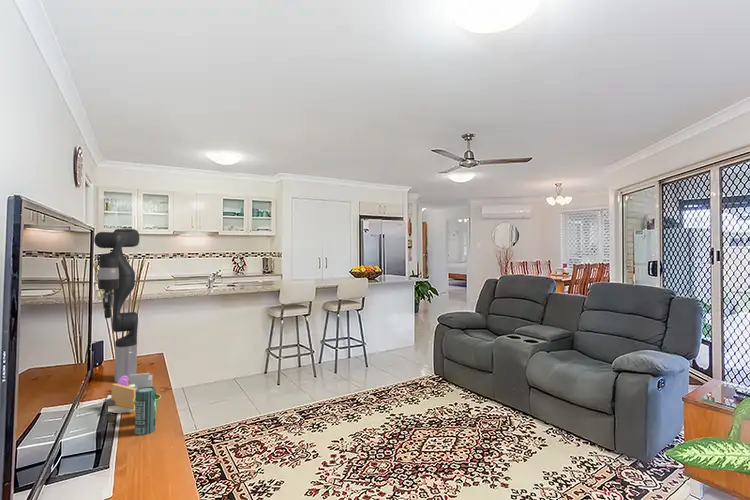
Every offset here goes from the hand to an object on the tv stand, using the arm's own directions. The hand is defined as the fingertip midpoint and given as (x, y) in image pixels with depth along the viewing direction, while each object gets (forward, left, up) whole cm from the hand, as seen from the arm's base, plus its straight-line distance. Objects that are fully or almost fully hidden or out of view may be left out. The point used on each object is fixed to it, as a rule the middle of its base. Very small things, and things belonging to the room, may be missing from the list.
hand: (107, 317), depth 175 cm
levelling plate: (+11, +10, -35) cm, 38 cm away
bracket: (-5, +10, -35) cm, 37 cm away
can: (+43, +17, -35) cm, 58 cm away
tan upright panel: (+17, +7, -33) cm, 38 cm away
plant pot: (+33, +17, -35) cm, 51 cm away
